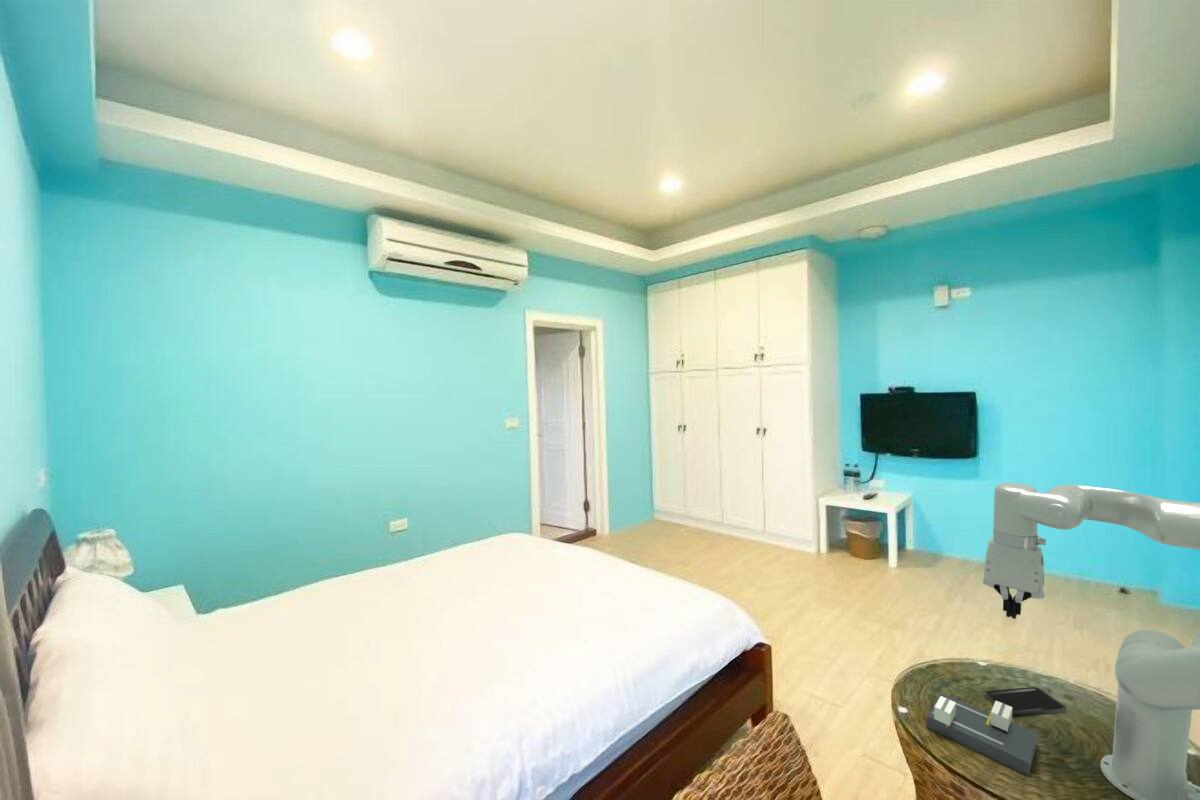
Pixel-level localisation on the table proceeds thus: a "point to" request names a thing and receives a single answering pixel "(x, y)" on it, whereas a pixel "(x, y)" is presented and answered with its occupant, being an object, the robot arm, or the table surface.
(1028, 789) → the table surface
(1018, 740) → the console
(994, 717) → the block
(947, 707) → the fader near
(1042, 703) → the phone
